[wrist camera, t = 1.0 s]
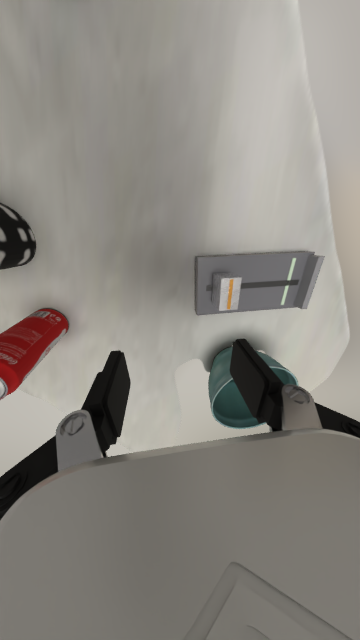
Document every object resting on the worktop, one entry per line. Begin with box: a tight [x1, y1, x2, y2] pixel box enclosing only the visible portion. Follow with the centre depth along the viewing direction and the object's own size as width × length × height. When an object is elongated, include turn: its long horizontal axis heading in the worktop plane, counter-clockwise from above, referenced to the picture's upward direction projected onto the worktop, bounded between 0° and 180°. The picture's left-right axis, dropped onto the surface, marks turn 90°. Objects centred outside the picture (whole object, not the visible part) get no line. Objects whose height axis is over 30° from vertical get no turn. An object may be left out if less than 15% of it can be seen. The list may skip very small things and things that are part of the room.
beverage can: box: [0, 309, 68, 400], centre depth 23 cm, size 6×6×15 cm
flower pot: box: [209, 347, 298, 429], centre depth 34 cm, size 16×16×11 cm
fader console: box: [195, 251, 325, 315], centre depth 29 cm, size 10×20×4 cm, turn 92°
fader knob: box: [212, 272, 242, 311], centre depth 26 cm, size 5×3×4 cm, turn 2°
